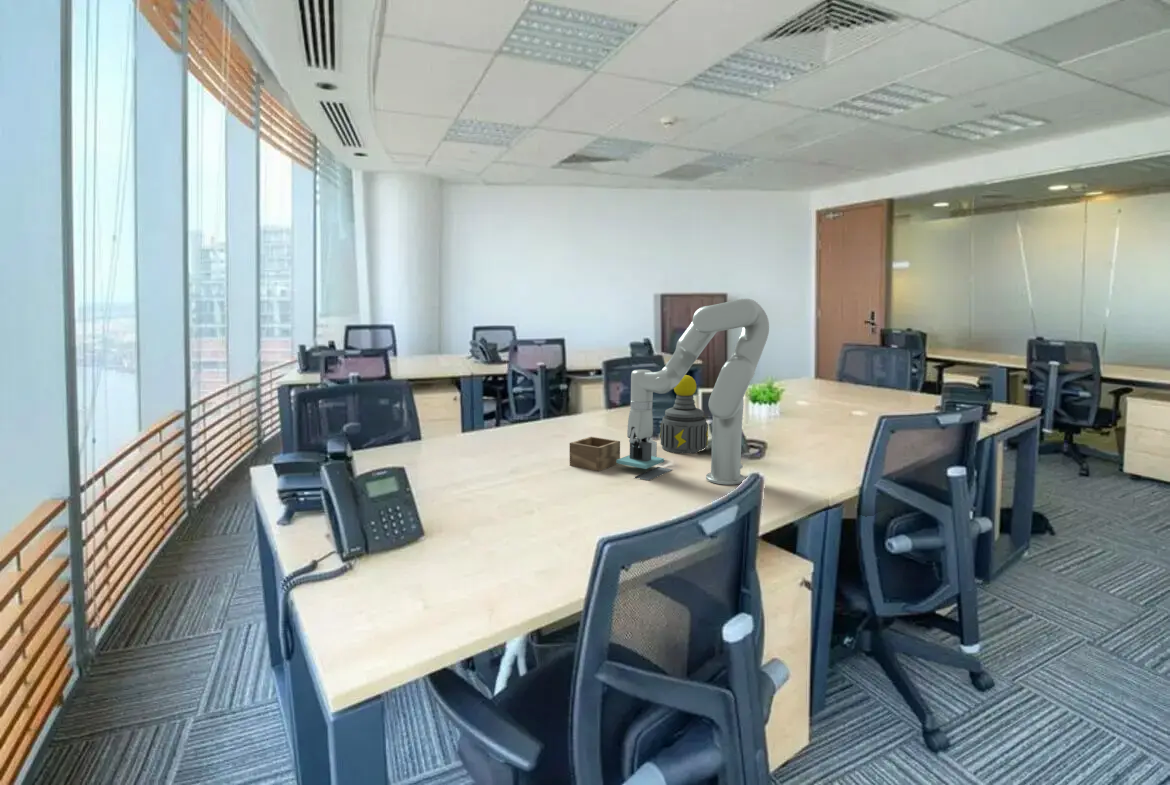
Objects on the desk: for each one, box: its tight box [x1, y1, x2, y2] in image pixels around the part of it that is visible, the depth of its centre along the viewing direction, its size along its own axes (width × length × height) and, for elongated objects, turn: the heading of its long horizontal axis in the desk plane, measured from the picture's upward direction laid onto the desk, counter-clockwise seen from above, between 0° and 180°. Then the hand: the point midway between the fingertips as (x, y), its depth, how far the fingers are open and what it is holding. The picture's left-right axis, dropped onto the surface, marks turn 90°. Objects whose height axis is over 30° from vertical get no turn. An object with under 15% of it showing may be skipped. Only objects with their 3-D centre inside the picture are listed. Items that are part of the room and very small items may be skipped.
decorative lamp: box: [659, 374, 709, 454], centre depth 248 cm, size 19×19×30 cm
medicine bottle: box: [636, 435, 658, 457], centre depth 233 cm, size 7×7×12 cm
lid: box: [616, 440, 665, 470], centre depth 216 cm, size 12×12×7 cm
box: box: [569, 436, 621, 472], centre depth 224 cm, size 13×13×9 cm
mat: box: [634, 466, 673, 481], centre depth 217 cm, size 16×16×1 cm
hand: (640, 456), depth 217 cm, fingers closed on lid, 3 cm apart
